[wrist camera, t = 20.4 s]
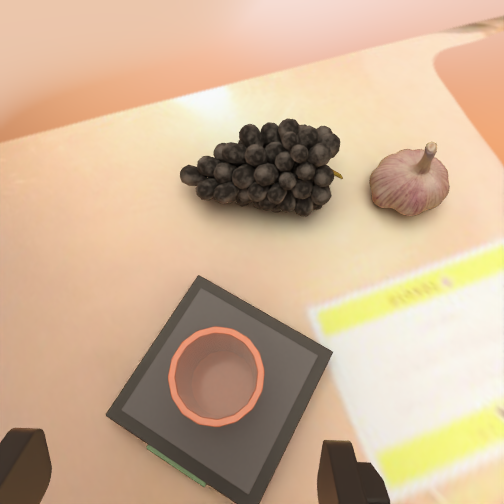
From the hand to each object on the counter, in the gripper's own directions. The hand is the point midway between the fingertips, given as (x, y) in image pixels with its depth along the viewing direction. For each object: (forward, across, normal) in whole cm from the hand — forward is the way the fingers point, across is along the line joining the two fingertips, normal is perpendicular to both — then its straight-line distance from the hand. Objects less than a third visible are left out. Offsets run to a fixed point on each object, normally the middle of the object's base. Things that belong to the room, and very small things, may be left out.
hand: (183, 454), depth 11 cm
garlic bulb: (+32, -17, 0) cm, 36 cm away
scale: (+18, 0, +14) cm, 22 cm away
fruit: (+32, -2, 0) cm, 32 cm away
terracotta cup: (+16, 0, +11) cm, 19 cm away
